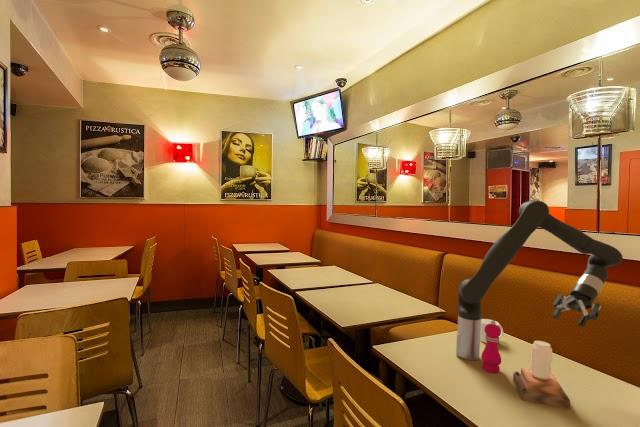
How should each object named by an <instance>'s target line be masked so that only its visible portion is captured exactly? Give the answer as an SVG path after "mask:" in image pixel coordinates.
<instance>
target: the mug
mask: <svg viewBox="0 0 640 427" xmlns="http://www.w3.org/2000/svg"><path fill="white" fill-rule="evenodd" d="M492 320H493V319H489V318H481V331H480V343H483V342H484V344H487V340H486V335H487V334H486V333H485V326H486V325H487V324H491V321H492ZM494 321H495V322H496V324H495V325H497V326H499V327H500V329H501V335H500V336H499V339H500V338H502V337H503V336H504V329H503V326H502V325H501V324H500V323H499V322H498V321H496V320H494Z"/></svg>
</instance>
